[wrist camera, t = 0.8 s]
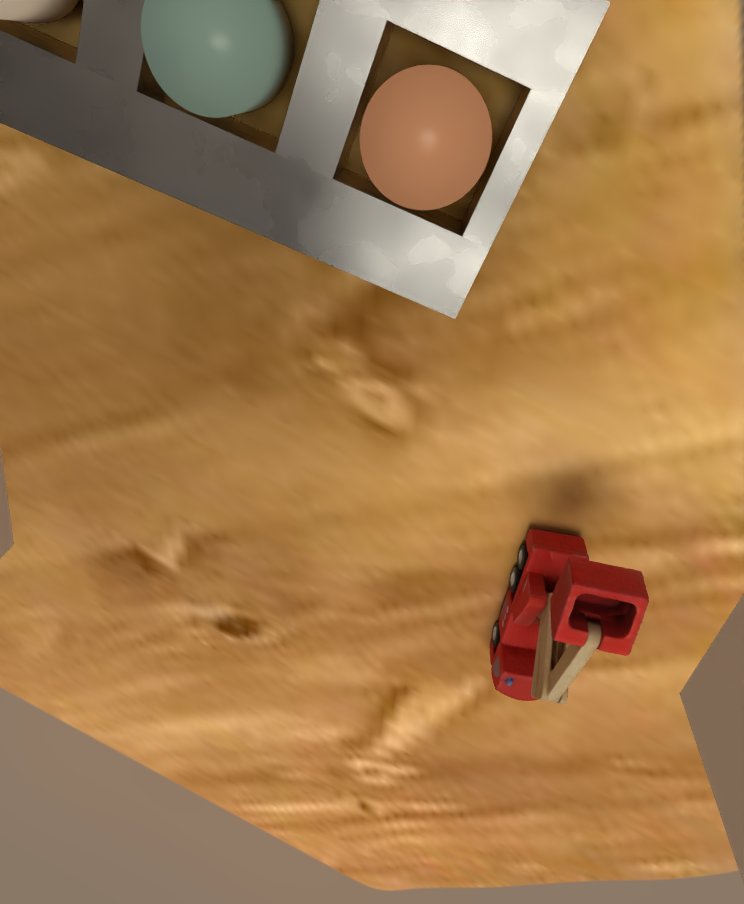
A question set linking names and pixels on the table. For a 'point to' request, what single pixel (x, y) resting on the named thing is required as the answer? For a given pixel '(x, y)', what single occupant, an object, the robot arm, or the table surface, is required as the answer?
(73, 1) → the button ivory
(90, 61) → the panel
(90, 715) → the table surface
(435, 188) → the button terracotta
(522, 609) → the toy fire truck
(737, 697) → the robot arm
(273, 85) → the button teal
